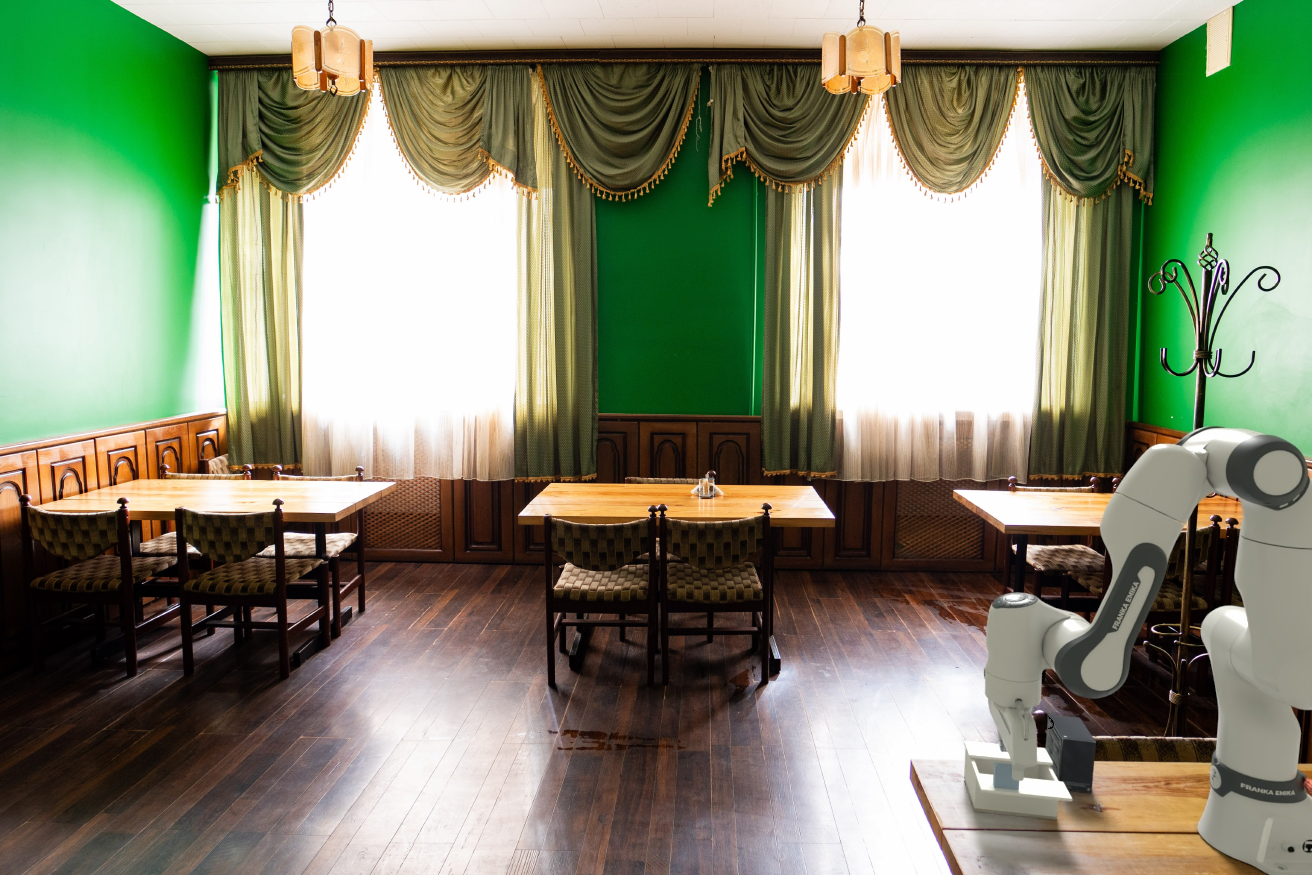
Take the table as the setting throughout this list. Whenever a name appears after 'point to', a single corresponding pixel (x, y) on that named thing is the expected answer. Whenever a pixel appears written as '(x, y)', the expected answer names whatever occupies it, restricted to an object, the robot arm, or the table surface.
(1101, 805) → the table surface
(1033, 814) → the carton
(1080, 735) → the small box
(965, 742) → the lid panel far
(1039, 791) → the lid panel near
